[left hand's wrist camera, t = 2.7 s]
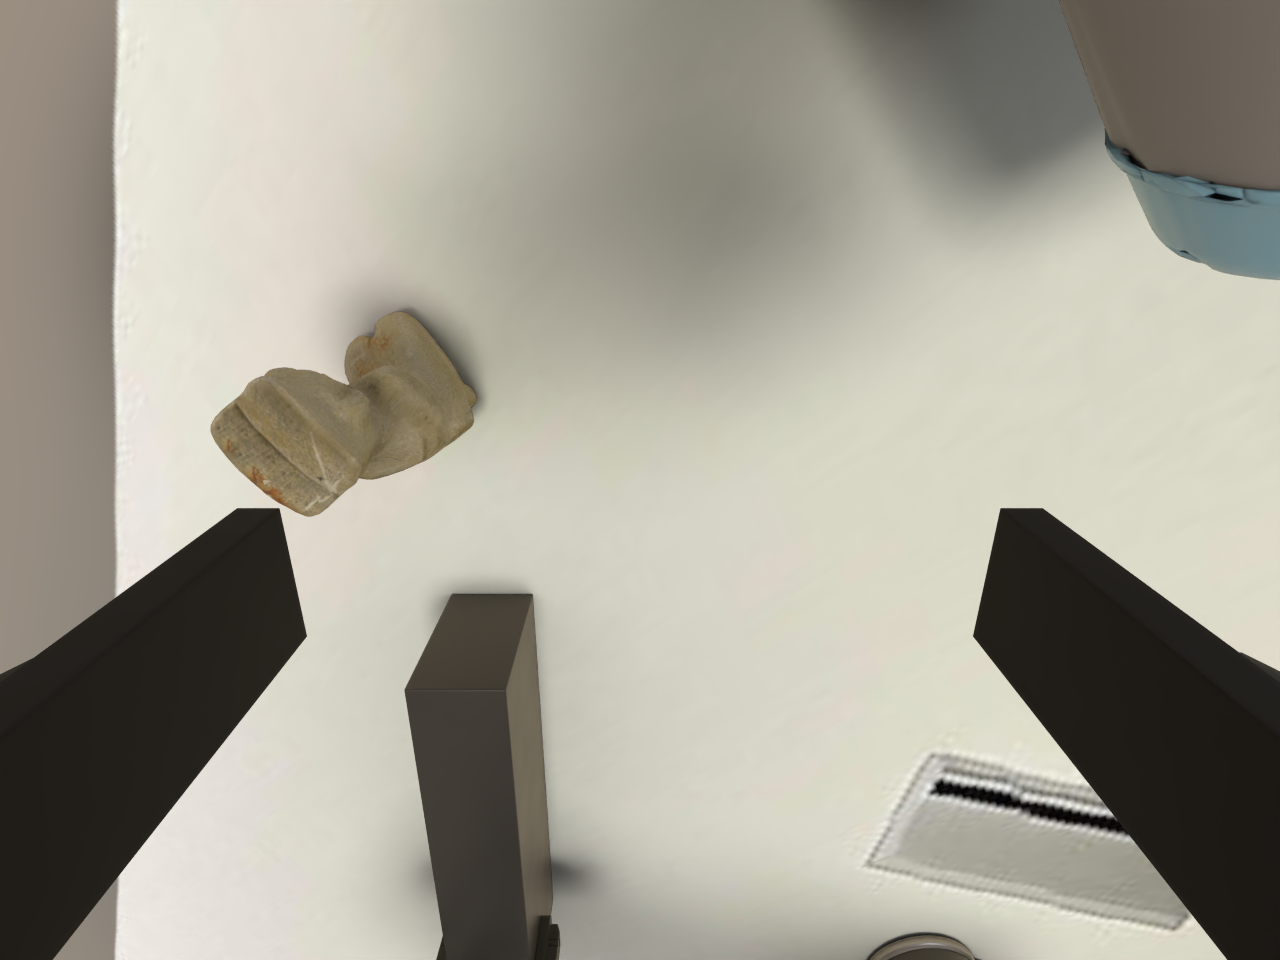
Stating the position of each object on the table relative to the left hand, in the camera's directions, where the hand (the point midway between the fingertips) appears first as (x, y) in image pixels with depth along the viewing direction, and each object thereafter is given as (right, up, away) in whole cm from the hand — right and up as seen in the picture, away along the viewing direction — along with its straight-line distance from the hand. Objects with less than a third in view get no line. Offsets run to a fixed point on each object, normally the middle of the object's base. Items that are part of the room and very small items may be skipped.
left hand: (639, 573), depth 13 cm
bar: (-10, -19, +36) cm, 42 cm away
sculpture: (-12, +8, +26) cm, 29 cm away
